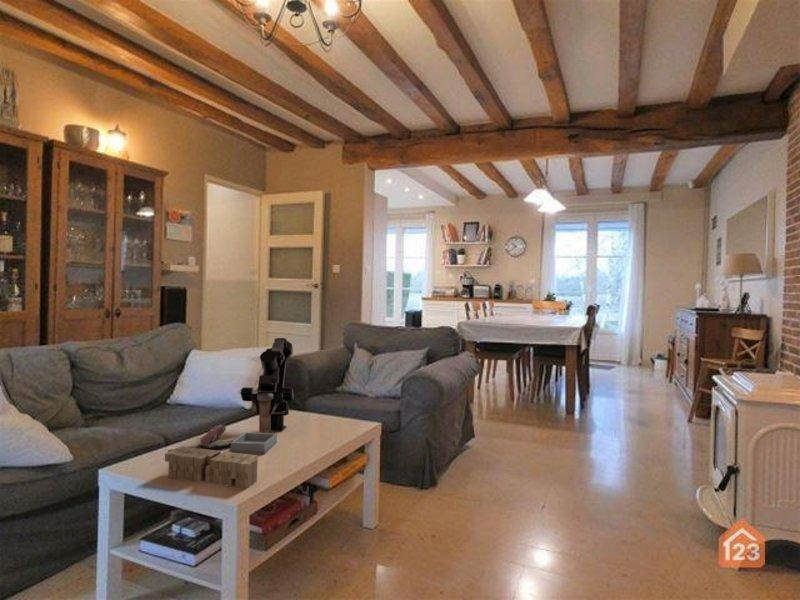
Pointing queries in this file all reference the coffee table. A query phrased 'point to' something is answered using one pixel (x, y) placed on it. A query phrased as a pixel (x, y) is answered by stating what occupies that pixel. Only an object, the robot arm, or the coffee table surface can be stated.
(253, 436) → the tray
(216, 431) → the pink toy car
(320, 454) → the coffee table surface
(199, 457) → the block tower
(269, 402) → the pin
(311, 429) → the coffee table surface
